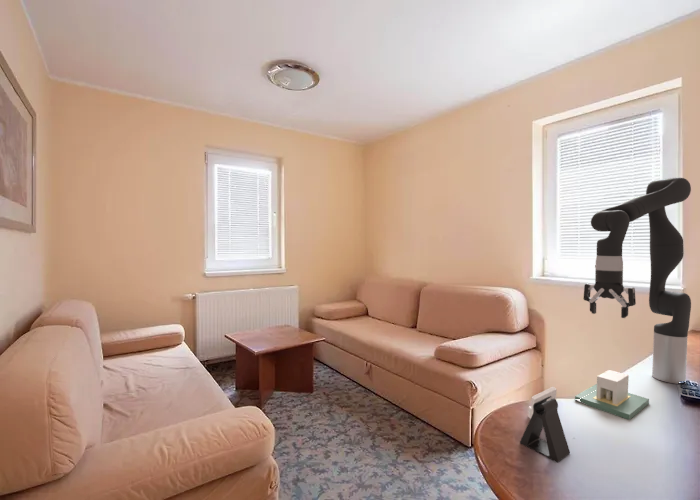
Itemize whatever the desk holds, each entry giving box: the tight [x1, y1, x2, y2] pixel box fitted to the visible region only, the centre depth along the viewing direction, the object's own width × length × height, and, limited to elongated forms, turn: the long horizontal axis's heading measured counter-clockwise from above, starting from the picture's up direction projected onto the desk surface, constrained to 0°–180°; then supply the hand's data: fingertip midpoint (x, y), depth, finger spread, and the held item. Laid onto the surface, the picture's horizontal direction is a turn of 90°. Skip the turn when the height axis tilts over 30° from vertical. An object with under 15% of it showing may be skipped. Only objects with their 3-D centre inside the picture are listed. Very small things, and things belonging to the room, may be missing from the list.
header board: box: [574, 383, 650, 421], centre depth 108 cm, size 18×14×4 cm
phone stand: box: [519, 397, 571, 463], centre depth 83 cm, size 9×6×12 cm, turn 34°
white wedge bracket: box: [527, 386, 557, 420], centre depth 96 cm, size 4×10×9 cm, turn 84°
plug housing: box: [596, 369, 630, 405], centre depth 108 cm, size 10×5×7 cm, turn 125°
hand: (608, 315), depth 117 cm, fingers open, 8 cm apart
